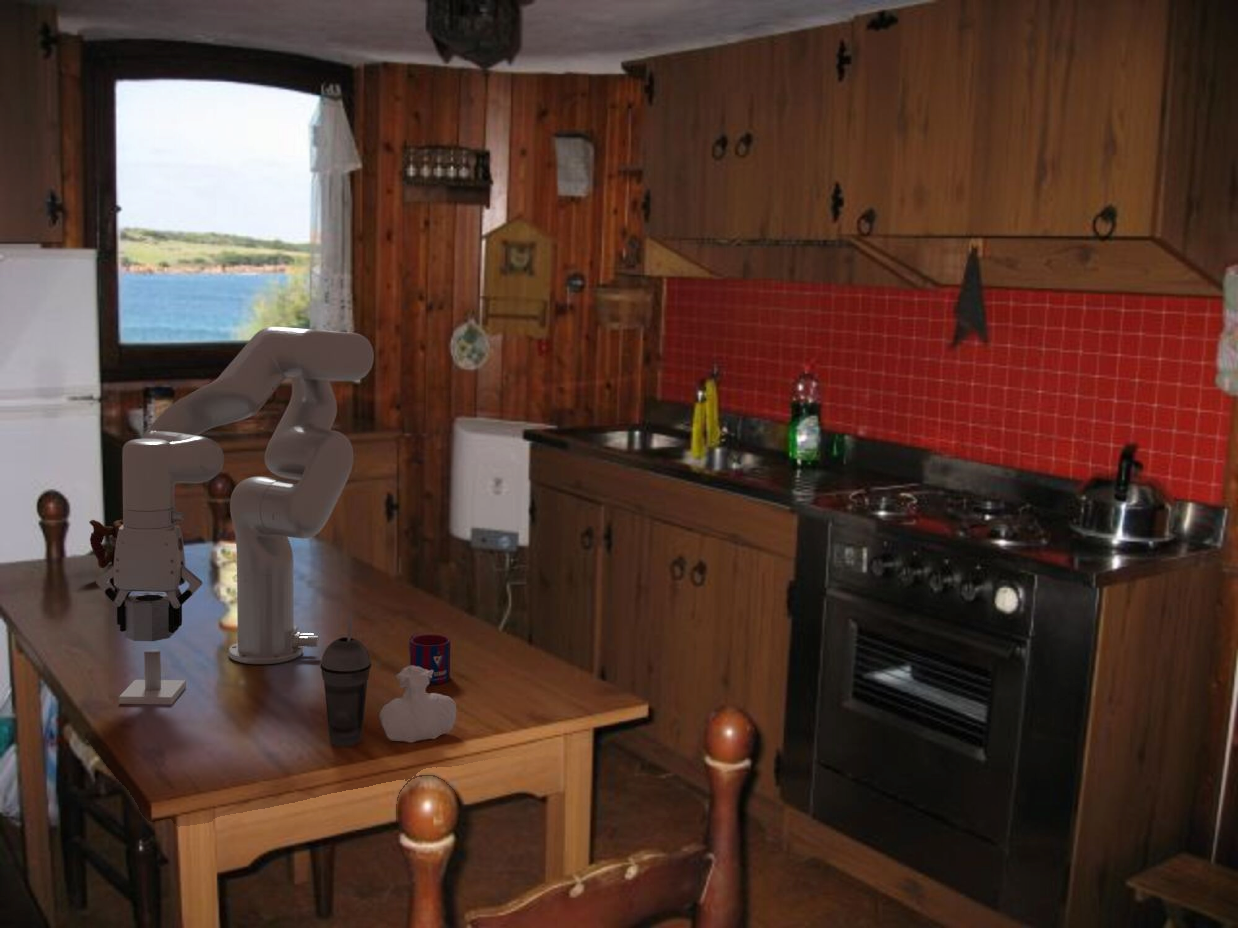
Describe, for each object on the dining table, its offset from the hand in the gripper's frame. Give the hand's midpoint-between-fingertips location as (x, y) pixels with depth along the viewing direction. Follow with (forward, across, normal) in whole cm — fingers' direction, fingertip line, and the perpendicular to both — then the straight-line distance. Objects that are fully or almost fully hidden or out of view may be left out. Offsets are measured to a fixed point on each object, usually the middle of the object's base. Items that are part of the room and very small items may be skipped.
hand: (149, 629), depth 203 cm
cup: (+11, -42, -12) cm, 45 cm away
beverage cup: (+11, -33, +18) cm, 39 cm away
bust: (+11, -43, +14) cm, 47 cm away
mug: (+10, +27, -74) cm, 80 cm away
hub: (+1, 0, 0) cm, 1 cm away
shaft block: (+11, 0, 0) cm, 11 cm away
